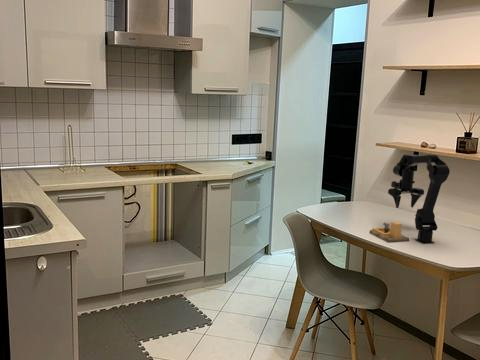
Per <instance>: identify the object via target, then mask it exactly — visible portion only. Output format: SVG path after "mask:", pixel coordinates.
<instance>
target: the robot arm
mask: <svg viewBox="0 0 480 360" xmlns="http://www.w3.org/2000/svg"><path fill="white" fill-rule="evenodd" d="M419 164H426V170H427V171H428V179H429V181H430V182H429V186H428V188H427V191H426V196H425V197H424V203H423V205H422V208H417V209H416V214H415V215H414V216H415V218H414V224H415V229H416V230H417V232H418V233H417V238H415V239H414V240H415V241H417V242H419V243H421V244H423V245H425V244H435V241H433V234H434V231H435V232H436V231H437V229H438V228H439V227H438V225H437V223H436V219H435V218H436V215H435V213H434V212H435V211H434V210H435V206H436V203H437V199H438V196H439V192H440V191H441V187H442V185H443V183H444V182H446V181H447V179H448V177H449V175H450V173H451V172H450V168H449V167H448V165H447V164H446V162H445V161H444V160H443V159H440V157H439V156H438V155H437V154H427V155H418V154H403V155H402V156H401V158H400V160H399V162H396V165H395V166H394V167H393V169H392V173H393V174H394V175H395V176H399V177H401V179H400V180H399V182H397V181H396V180H393V181H391V185H390V186H391V188H389V189H388V190H387V194H388V195H389V196H391V197H392V198H393V200H394V203H395V204H394V205H395V208H396V209H399V206H400V203H401V198H402V196H401V195H402V194H410V197H411V201H410V207H411V208H414V206H415V205H416V203H418V201H419V199H420V198H421V197H423V196H424V195H425V190H424V189H423V188H420V187H414V185H413V184H415V183H416V181H415V180H414V179H415V178H414V177H415V172H417V171H418V170H417V168H415V166H418V165H419Z"/></svg>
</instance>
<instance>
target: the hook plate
mask: <svg viewBox="0 0 480 360" xmlns="http://www.w3.org/2000/svg"><path fill="white" fill-rule="evenodd" d="M383 226H384V227H385V228H384V230H382V232H384V233H390V231H389V227H390V223H386V222H384V223H383ZM369 234H371V235H373V236H374V237H377V238H379V239H380V240H383V241H385V242H387V244H389V243H399V242H400V243H401V242H403V243H404V242H410V237H408V236H406V235H404V234H402V233H401V235H400V238H393V237H391V236H382V235H380V234H378V233H376V232H374V231H372V229H370V230H369Z"/></svg>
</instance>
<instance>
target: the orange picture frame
mask: <svg viewBox="0 0 480 360" xmlns="http://www.w3.org/2000/svg"><path fill="white" fill-rule="evenodd" d="M384 228H385V226H384V227H372V229H371V230H372V231H374V232H376V233H378V234H380V235H382V236H391V237H393V238H400V235H401V234H402V232H401V231H402V223H400V222H397V221H391V222H390V226H389V231H390V233H384V232H382V230H384Z"/></svg>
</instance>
